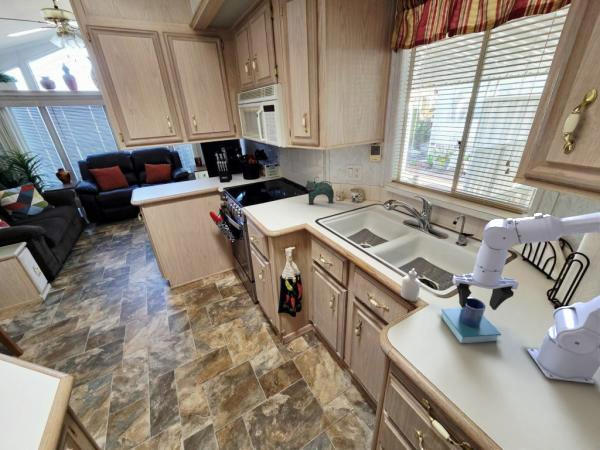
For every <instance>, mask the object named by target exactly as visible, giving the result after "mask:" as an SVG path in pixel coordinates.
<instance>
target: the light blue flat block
mask: <svg viewBox="0 0 600 450" xmlns="http://www.w3.org/2000/svg"><path fill="white" fill-rule="evenodd" d="M460 311H461V307H450V308H449V307H448V308H441V318H442V319H443V321H444V322H445V323H446V325H447V326H448V328H449V329H450V331H451V332H452V333H453V335H454V336H455V337H456V338H457V340H458V342H459V343H460V344H469V343H471V344H472V343H483V342H484V343H485V342H496V341H497V340H498V338H499V336H502V333H501V332H500V331H499V330H498V329H497V328H496V326H494V324H492V323H491V322H490V320H488V318H487V317H485V315H484V314H483V317H482V320H481V323H480V325H479V326H478V327H469V326H466V325H465V324H463V323H462V322H461V321H460V320H459V315H460Z"/></svg>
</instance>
